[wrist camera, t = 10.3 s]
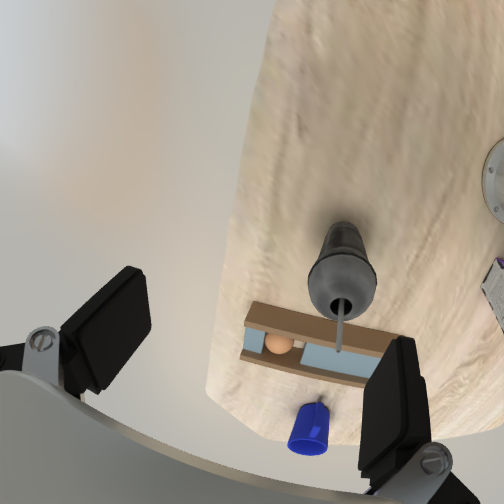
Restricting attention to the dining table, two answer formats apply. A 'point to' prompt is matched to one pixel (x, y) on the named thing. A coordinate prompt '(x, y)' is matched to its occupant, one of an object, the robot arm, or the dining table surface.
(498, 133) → the dining table surface
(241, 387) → the dining table surface
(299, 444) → the mug
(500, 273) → the candy box
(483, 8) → the dining table surface
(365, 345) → the board
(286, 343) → the ball
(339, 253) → the beverage cup
